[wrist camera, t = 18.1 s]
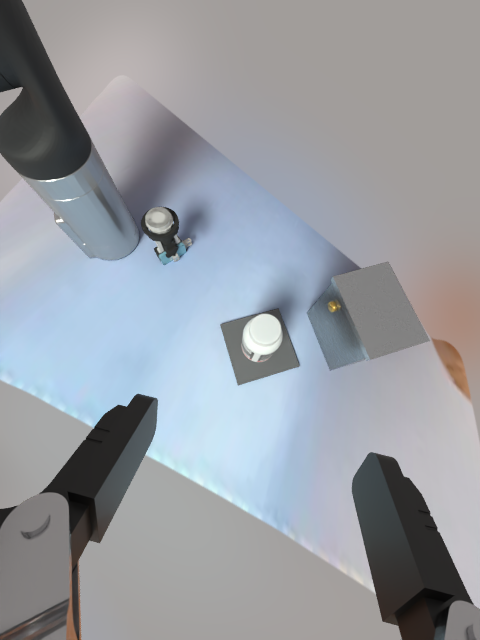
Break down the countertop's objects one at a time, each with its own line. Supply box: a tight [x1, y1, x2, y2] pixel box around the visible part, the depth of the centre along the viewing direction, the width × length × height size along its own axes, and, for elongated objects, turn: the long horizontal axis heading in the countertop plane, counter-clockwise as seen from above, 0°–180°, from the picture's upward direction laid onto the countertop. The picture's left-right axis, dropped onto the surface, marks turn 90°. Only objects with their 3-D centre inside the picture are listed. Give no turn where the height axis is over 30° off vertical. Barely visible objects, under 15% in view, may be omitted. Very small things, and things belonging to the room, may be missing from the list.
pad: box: [220, 309, 299, 385], centre depth 42 cm, size 10×10×1 cm
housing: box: [307, 262, 430, 370], centre depth 37 cm, size 8×11×13 cm
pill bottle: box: [241, 314, 283, 362], centre depth 37 cm, size 5×5×10 cm
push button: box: [141, 207, 192, 265], centre depth 42 cm, size 7×5×10 cm
